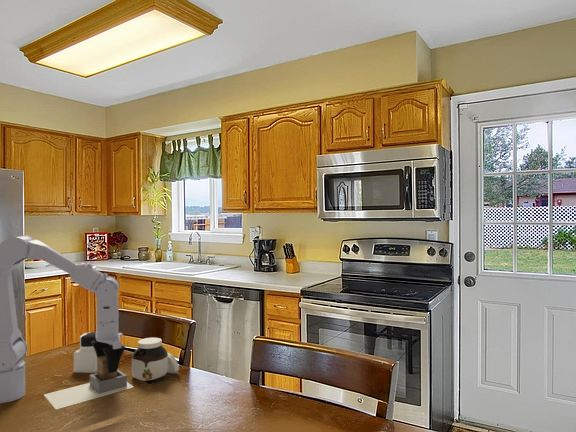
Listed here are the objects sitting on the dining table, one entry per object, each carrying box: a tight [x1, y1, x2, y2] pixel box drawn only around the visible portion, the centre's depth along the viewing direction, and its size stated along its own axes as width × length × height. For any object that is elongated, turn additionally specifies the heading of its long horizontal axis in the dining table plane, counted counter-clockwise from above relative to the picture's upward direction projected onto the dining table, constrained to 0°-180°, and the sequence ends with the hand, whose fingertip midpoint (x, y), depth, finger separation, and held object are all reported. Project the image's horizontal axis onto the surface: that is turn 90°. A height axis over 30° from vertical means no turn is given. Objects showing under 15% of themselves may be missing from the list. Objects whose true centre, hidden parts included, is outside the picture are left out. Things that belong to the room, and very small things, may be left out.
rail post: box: [96, 355, 117, 381], centre depth 121 cm, size 4×4×8 cm
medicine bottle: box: [73, 331, 97, 374], centre depth 135 cm, size 7×7×12 cm
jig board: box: [43, 369, 135, 410], centre depth 117 cm, size 20×12×4 cm, turn 133°
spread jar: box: [131, 337, 179, 384], centre depth 130 cm, size 12×11×12 cm
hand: (107, 368), depth 121 cm, fingers open, 7 cm apart
